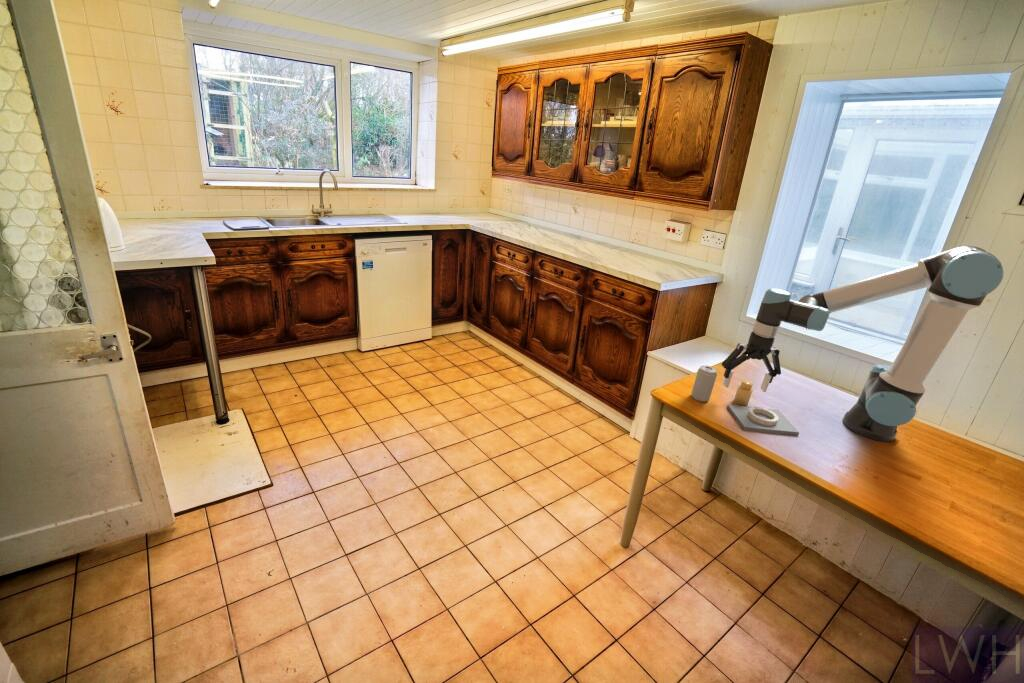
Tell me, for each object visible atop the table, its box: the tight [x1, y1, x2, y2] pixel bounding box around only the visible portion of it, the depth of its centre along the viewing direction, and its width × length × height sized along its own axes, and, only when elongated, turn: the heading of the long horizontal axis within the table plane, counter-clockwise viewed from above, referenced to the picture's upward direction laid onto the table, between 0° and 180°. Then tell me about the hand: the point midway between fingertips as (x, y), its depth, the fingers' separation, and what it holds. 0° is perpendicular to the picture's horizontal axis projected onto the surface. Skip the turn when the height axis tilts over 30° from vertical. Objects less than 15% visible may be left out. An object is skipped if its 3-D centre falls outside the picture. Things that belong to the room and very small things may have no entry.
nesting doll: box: [733, 380, 754, 407], centre depth 171 cm, size 5×5×8 cm
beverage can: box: [691, 365, 718, 403], centre depth 170 cm, size 6×6×12 cm
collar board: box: [726, 404, 800, 436], centre depth 161 cm, size 18×14×3 cm
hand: (744, 388), depth 170 cm, fingers open, 13 cm apart
